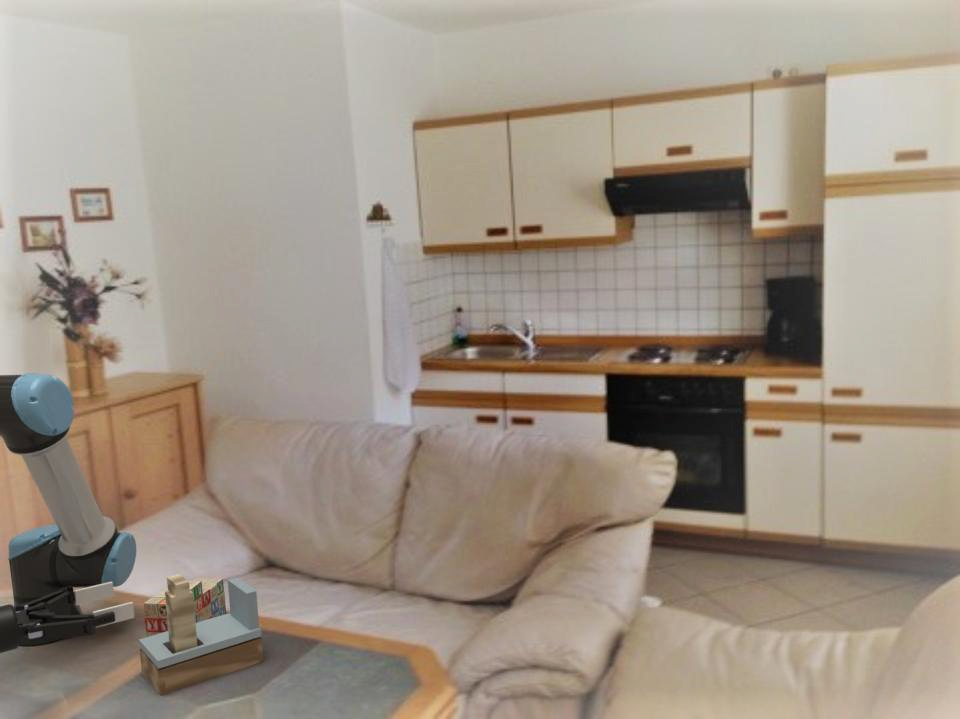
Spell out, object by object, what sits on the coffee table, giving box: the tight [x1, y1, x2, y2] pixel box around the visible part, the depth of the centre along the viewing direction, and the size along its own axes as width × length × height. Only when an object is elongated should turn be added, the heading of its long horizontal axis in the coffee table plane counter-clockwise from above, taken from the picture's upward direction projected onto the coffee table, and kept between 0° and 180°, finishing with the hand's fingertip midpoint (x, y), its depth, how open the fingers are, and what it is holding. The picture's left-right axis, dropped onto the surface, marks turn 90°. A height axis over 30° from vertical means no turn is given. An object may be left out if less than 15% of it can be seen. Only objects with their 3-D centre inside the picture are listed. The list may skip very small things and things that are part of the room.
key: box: [165, 573, 197, 654], centre depth 161 cm, size 6×4×20 cm
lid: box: [138, 577, 263, 669], centre depth 165 cm, size 12×20×9 cm, turn 128°
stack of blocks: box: [143, 577, 227, 637], centre depth 182 cm, size 21×6×12 cm, turn 169°
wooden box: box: [139, 636, 264, 697], centre depth 166 cm, size 12×20×6 cm, turn 128°
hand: (122, 598), depth 154 cm, fingers open, 13 cm apart
